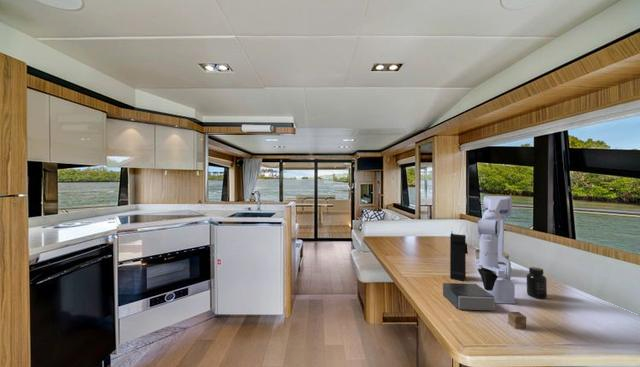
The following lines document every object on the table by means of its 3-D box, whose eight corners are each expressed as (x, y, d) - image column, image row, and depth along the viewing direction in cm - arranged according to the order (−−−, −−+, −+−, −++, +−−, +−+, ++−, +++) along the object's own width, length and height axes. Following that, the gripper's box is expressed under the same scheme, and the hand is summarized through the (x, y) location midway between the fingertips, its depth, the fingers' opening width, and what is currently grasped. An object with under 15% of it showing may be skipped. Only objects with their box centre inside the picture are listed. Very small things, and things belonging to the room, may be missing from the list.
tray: (476, 296, 113) (476, 285, 114) (494, 310, 101) (494, 298, 101) (445, 295, 114) (445, 284, 114) (459, 309, 101) (459, 297, 101)
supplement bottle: (547, 296, 115) (547, 268, 116) (546, 300, 110) (546, 272, 111) (527, 291, 120) (527, 265, 120) (525, 296, 115) (525, 268, 115)
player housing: (475, 296, 115) (475, 283, 115) (493, 310, 102) (493, 296, 102) (442, 295, 115) (443, 282, 116) (456, 308, 102) (456, 295, 103)
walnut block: (518, 323, 92) (518, 311, 92) (526, 329, 88) (526, 317, 88) (508, 323, 92) (508, 311, 92) (515, 328, 88) (515, 316, 89)
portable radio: (467, 278, 137) (468, 230, 137) (467, 281, 132) (467, 232, 132) (451, 275, 141) (451, 228, 141) (449, 278, 136) (450, 230, 136)
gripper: (467, 247, 103) (467, 282, 103) (488, 257, 88) (488, 297, 88) (485, 247, 102) (485, 282, 102) (510, 257, 88) (510, 298, 88)
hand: (488, 289), depth 95 cm, fingers closed
